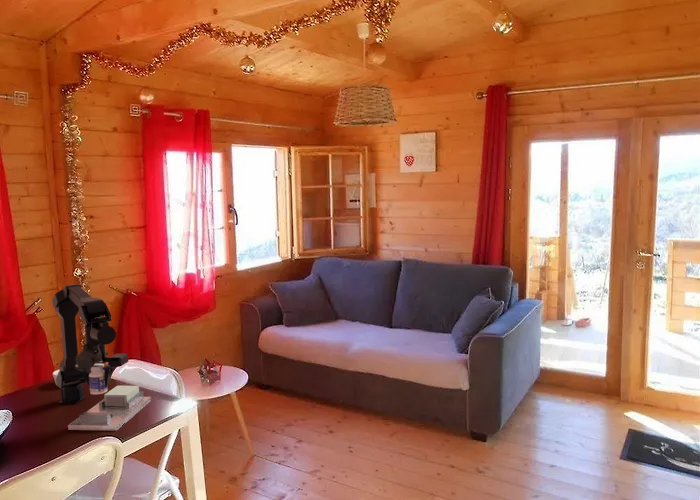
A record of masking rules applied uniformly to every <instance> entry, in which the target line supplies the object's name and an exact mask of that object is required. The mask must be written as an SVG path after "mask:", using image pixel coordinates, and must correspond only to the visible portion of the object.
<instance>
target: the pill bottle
mask: <svg viewBox="0 0 700 500" xmlns="http://www.w3.org/2000/svg"><path fill="white" fill-rule="evenodd" d="M103 367H105V363H95V364H94V366H93V367H92V368H91V371H92V372H91V373H90V374H89V385H88V386H89V393H90V395H103V394H106V393H108V386H105V372H104V370H103Z"/></svg>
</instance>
